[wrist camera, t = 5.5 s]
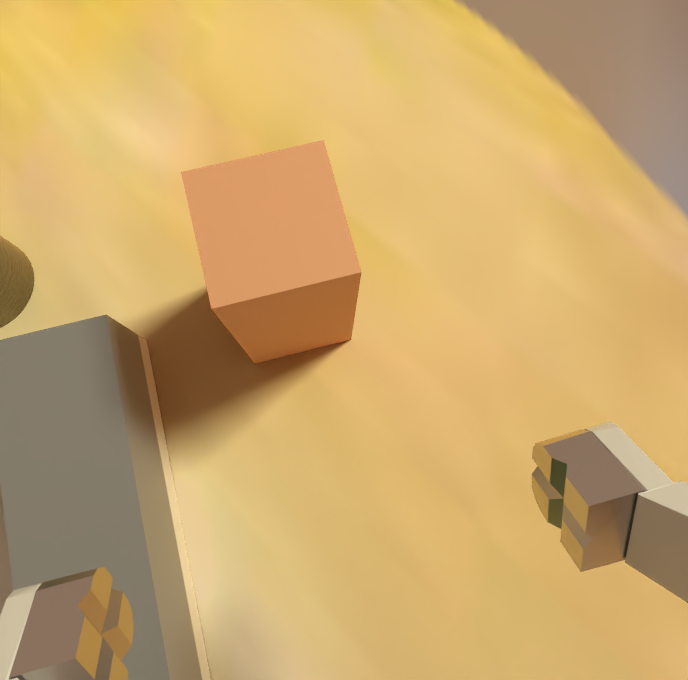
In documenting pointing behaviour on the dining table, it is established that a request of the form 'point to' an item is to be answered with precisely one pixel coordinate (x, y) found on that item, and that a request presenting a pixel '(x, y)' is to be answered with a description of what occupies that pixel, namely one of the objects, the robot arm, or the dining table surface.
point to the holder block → (96, 485)
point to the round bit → (14, 281)
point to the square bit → (276, 250)
